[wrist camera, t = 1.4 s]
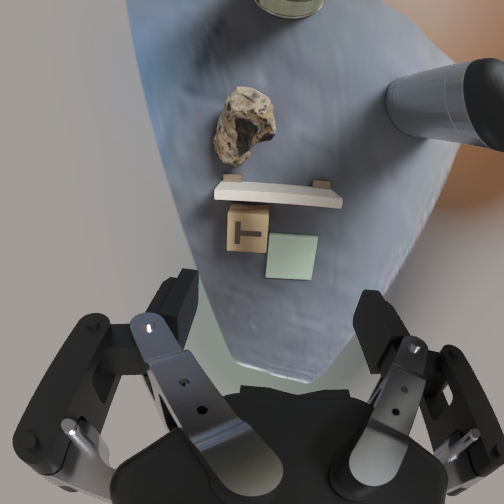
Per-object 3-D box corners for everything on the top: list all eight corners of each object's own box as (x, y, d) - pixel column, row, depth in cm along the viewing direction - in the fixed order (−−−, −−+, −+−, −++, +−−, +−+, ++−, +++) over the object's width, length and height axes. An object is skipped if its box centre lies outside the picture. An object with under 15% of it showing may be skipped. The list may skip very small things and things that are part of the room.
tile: (317, 235, 39) (318, 237, 38) (310, 277, 42) (310, 279, 41) (269, 232, 39) (269, 234, 39) (265, 275, 42) (265, 277, 41)
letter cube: (267, 204, 38) (269, 215, 33) (265, 238, 40) (266, 253, 35) (231, 202, 38) (227, 213, 33) (230, 236, 40) (226, 251, 35)
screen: (331, 181, 36) (344, 190, 30) (328, 204, 37) (340, 216, 32) (221, 173, 36) (214, 180, 30) (221, 196, 37) (214, 207, 32)
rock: (280, 177, 34) (302, 116, 26) (227, 188, 32) (237, 122, 23) (254, 135, 38) (267, 77, 29) (206, 143, 35) (210, 81, 27)
